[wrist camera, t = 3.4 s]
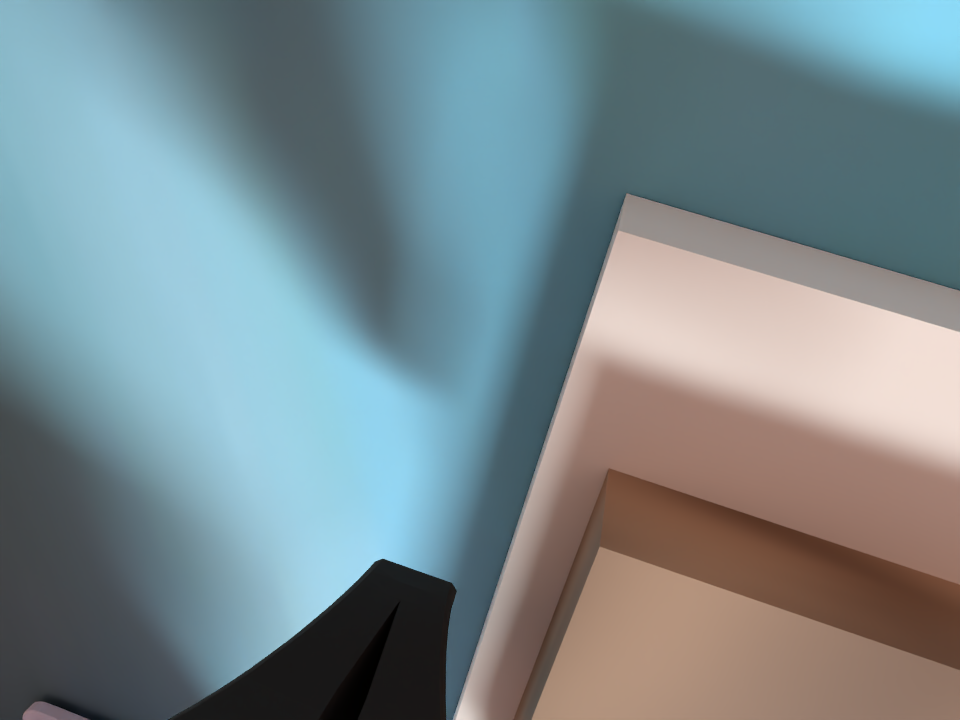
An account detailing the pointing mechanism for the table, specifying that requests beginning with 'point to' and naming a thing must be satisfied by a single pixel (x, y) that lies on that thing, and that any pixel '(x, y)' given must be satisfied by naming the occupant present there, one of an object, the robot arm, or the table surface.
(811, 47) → the table surface
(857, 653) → the walnut tile
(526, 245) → the table surface
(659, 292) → the pale pink flat block
